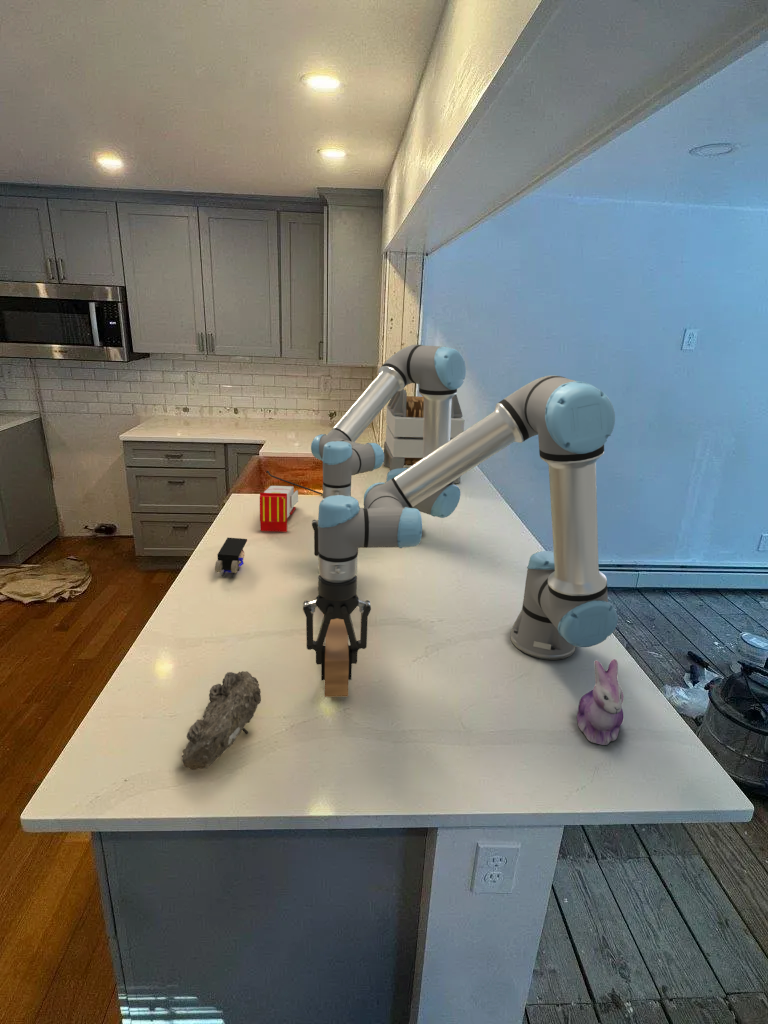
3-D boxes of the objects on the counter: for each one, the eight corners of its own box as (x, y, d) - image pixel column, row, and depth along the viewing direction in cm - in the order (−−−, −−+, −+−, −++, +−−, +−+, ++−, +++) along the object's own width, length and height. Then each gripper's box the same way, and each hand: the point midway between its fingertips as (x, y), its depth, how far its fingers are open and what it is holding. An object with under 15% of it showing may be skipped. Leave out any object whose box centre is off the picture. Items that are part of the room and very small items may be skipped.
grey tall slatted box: (382, 463, 289) (386, 382, 275) (445, 464, 293) (451, 384, 279) (390, 482, 257) (394, 392, 243) (460, 483, 261) (468, 394, 247)
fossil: (206, 672, 114) (260, 639, 109) (238, 703, 117) (292, 672, 112) (156, 763, 94) (219, 728, 89) (197, 797, 97) (260, 766, 92)
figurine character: (238, 584, 162) (249, 557, 175) (236, 562, 158) (247, 536, 172) (215, 584, 161) (227, 556, 175) (212, 561, 158) (225, 535, 171)
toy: (300, 481, 221) (289, 494, 192) (300, 514, 224) (289, 533, 194) (268, 480, 221) (253, 493, 191) (269, 514, 223) (254, 532, 194)
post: (327, 570, 166) (328, 544, 163) (343, 570, 166) (344, 544, 163) (324, 696, 112) (324, 660, 109) (348, 696, 113) (348, 660, 110)
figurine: (602, 755, 103) (617, 685, 98) (562, 719, 111) (574, 654, 106) (638, 739, 107) (654, 672, 102) (596, 706, 116) (609, 643, 110)
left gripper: (302, 503, 148) (303, 583, 156) (370, 504, 150) (367, 583, 158) (304, 494, 155) (305, 571, 163) (368, 495, 157) (366, 571, 165)
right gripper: (290, 583, 106) (292, 688, 113) (384, 583, 107) (380, 686, 115) (292, 566, 113) (294, 665, 120) (381, 566, 114) (377, 664, 122)
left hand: (335, 577), depth 160 cm, fingers closed on post, 5 cm apart
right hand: (336, 675), depth 118 cm, fingers closed on post, 5 cm apart
